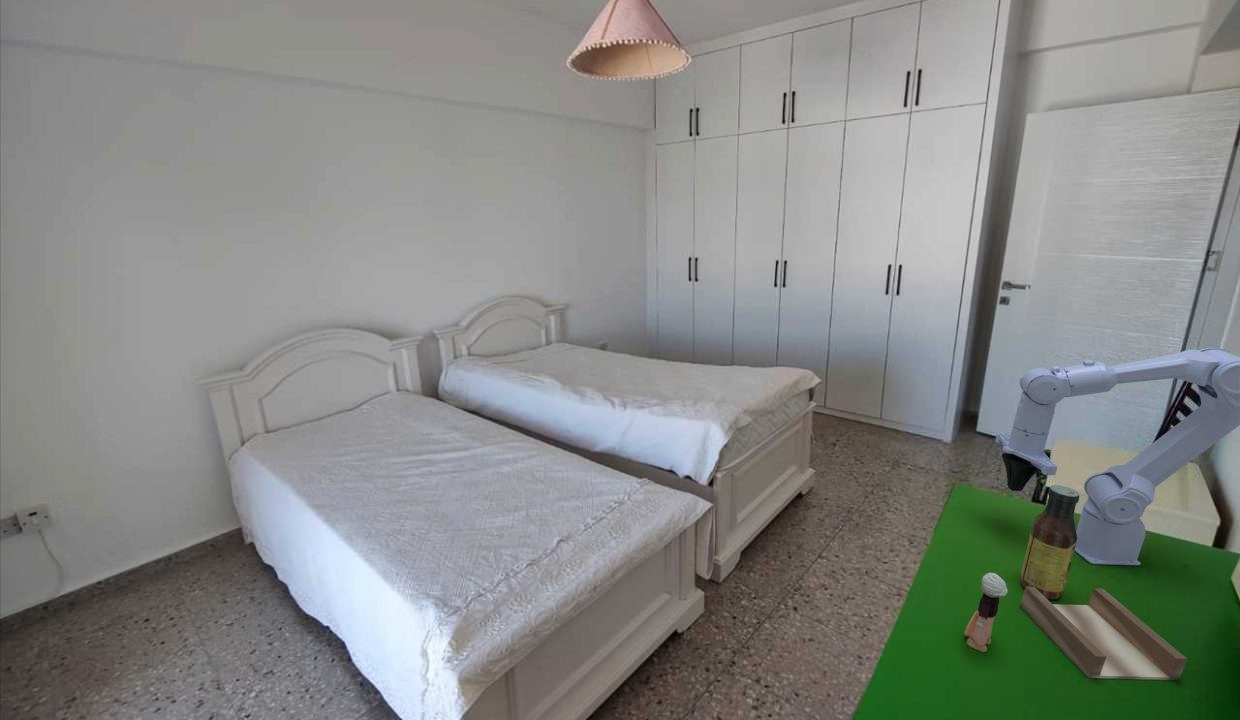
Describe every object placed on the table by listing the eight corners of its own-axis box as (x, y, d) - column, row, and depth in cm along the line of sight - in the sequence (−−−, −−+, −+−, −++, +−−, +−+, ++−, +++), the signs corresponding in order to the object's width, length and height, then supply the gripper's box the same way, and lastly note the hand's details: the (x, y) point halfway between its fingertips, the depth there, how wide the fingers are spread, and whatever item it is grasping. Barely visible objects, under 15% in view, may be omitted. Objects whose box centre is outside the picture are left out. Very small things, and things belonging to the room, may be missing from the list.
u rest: (1096, 607, 92) (1102, 588, 91) (1178, 680, 78) (1187, 658, 77) (1020, 605, 92) (1025, 586, 91) (1088, 677, 78) (1096, 656, 77)
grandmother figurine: (967, 623, 88) (983, 558, 85) (994, 634, 86) (1012, 568, 82) (959, 652, 83) (976, 583, 79) (989, 665, 80) (1007, 595, 77)
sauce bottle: (1069, 604, 93) (1100, 504, 87) (1029, 598, 94) (1057, 499, 88) (1048, 579, 99) (1076, 484, 93) (1011, 574, 100) (1036, 480, 94)
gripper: (987, 413, 113) (973, 471, 117) (1036, 444, 99) (1019, 508, 103) (1020, 414, 113) (1006, 472, 117) (1075, 445, 99) (1056, 509, 103)
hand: (1014, 489), depth 110 cm, fingers closed
